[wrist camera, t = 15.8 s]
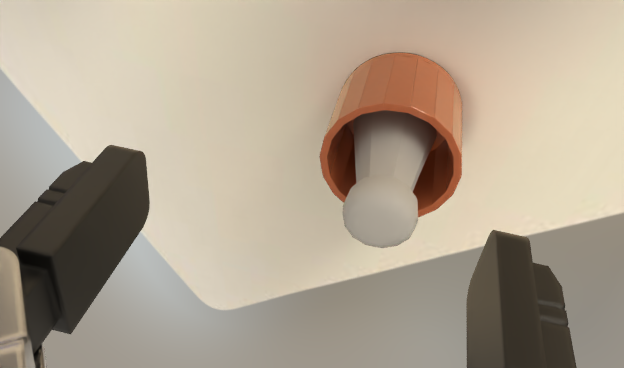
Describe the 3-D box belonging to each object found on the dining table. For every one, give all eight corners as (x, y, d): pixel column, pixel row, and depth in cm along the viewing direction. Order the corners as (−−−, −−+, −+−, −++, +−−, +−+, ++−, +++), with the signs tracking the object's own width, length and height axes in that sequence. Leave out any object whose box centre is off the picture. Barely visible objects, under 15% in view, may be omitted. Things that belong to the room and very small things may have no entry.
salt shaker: (372, 152, 45) (345, 270, 34) (347, 88, 42) (310, 196, 32) (447, 136, 42) (441, 257, 32) (426, 67, 40) (413, 176, 29)
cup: (401, 26, 39) (390, 74, 33) (488, 114, 41) (492, 173, 35) (315, 104, 44) (292, 159, 38) (397, 178, 46) (388, 240, 41)
